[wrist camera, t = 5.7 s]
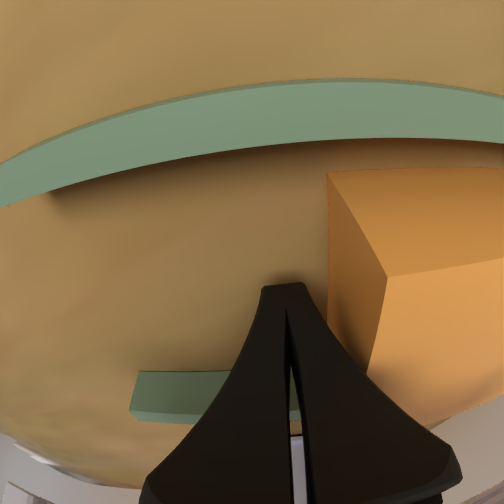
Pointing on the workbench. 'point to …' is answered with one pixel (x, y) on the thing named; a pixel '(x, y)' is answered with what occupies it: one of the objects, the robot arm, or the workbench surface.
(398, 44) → the workbench surface
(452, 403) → the orange square block
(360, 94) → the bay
